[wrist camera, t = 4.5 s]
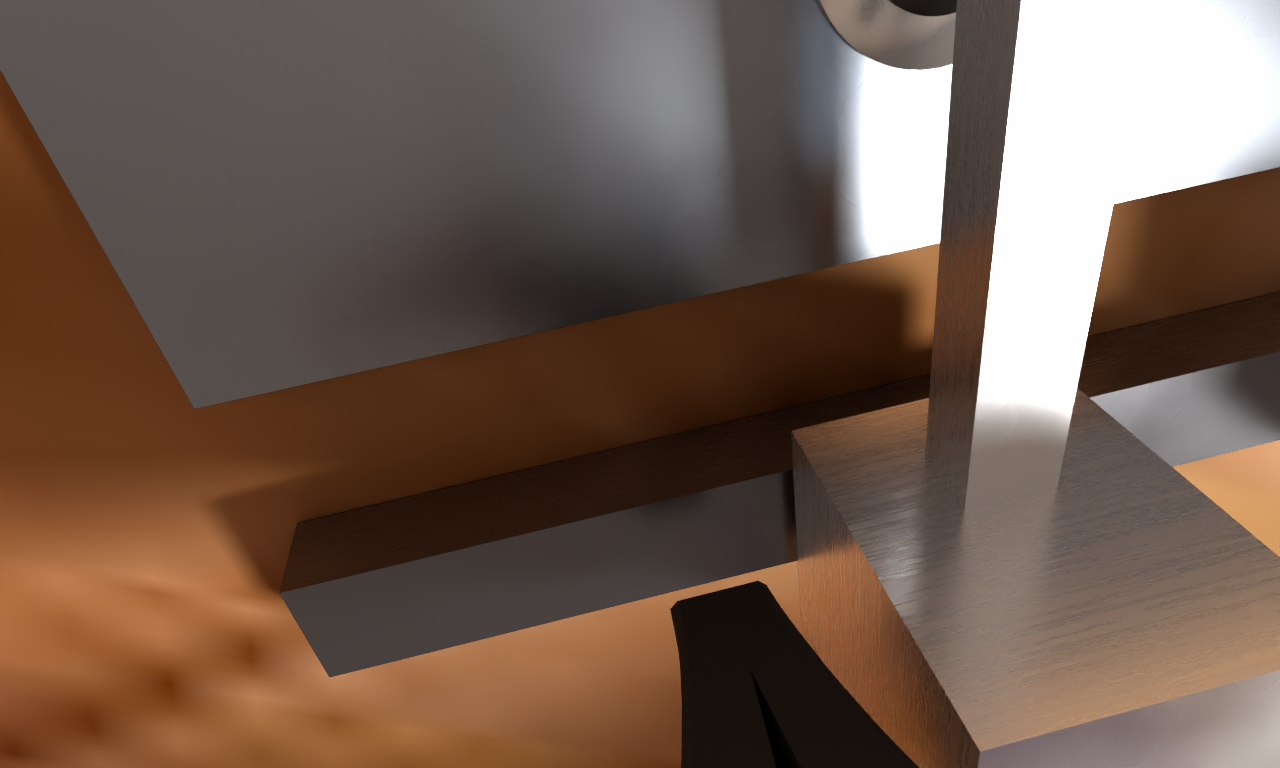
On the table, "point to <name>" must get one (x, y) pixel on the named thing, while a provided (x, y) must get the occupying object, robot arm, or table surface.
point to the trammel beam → (706, 500)
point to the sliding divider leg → (1032, 467)
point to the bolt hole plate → (533, 156)
